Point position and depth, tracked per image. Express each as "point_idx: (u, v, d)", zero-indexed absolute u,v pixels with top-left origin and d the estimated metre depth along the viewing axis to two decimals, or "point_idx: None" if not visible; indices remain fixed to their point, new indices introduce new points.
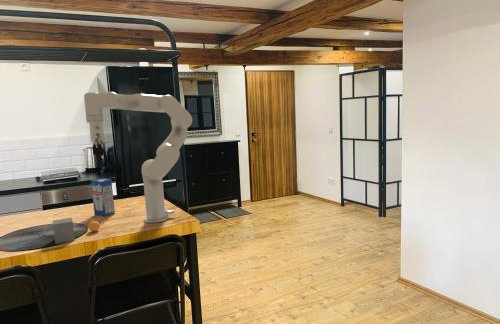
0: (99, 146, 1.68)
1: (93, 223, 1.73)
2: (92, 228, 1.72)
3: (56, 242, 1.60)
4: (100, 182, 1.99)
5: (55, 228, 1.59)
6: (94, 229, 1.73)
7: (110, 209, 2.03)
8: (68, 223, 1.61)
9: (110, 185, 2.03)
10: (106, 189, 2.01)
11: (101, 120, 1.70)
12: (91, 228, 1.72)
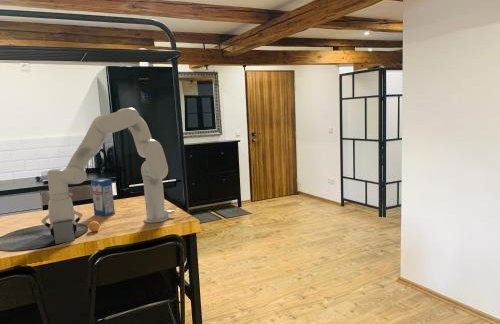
0: None
1: (93, 223, 1.73)
2: (92, 228, 1.72)
3: (56, 242, 1.60)
4: (100, 182, 1.99)
5: (55, 228, 1.59)
6: (94, 229, 1.73)
7: (110, 209, 2.03)
8: (68, 223, 1.61)
9: (110, 185, 2.03)
10: (106, 189, 2.01)
11: None
12: (91, 228, 1.72)
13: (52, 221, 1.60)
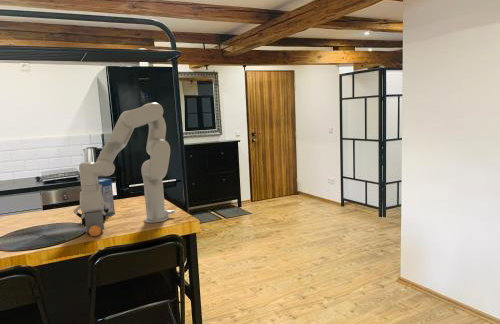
0: None
1: None
2: None
3: (87, 231, 1.69)
4: (100, 182, 1.99)
5: (86, 218, 1.68)
6: None
7: (110, 209, 2.03)
8: (98, 213, 1.71)
9: (110, 185, 2.03)
10: (106, 189, 2.01)
11: None
12: None
13: (83, 211, 1.69)
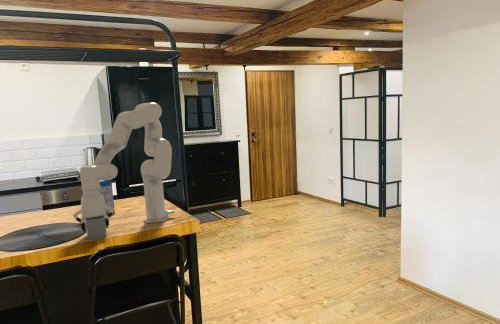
0: None
1: None
2: None
3: (89, 238, 1.63)
4: (100, 182, 1.99)
5: (88, 225, 1.62)
6: None
7: None
8: (100, 219, 1.64)
9: (110, 185, 2.03)
10: (106, 189, 2.01)
11: None
12: None
13: (85, 217, 1.63)
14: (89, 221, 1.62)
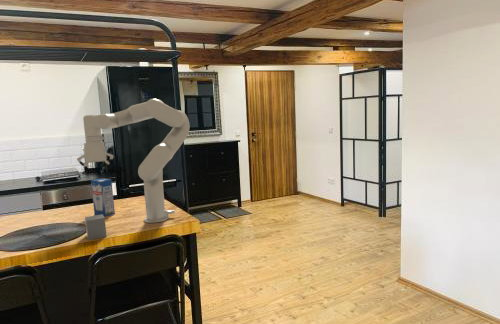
0: None
1: None
2: None
3: (89, 238, 1.63)
4: (100, 182, 1.99)
5: (88, 225, 1.62)
6: None
7: (110, 209, 2.03)
8: (100, 219, 1.64)
9: (110, 185, 2.03)
10: (106, 189, 2.01)
11: None
12: None
13: (87, 160, 1.81)
14: (89, 221, 1.62)
